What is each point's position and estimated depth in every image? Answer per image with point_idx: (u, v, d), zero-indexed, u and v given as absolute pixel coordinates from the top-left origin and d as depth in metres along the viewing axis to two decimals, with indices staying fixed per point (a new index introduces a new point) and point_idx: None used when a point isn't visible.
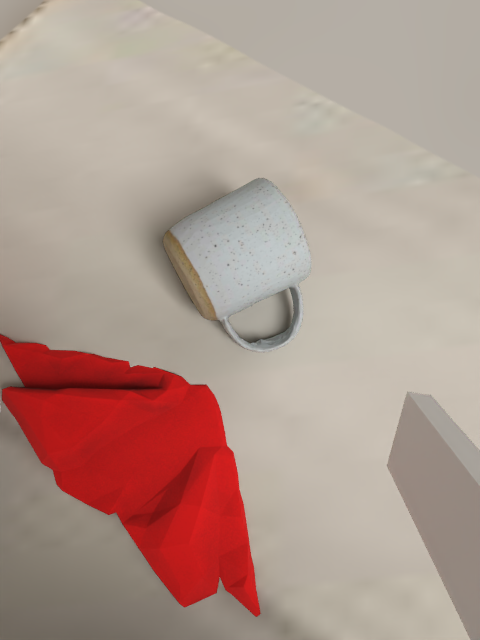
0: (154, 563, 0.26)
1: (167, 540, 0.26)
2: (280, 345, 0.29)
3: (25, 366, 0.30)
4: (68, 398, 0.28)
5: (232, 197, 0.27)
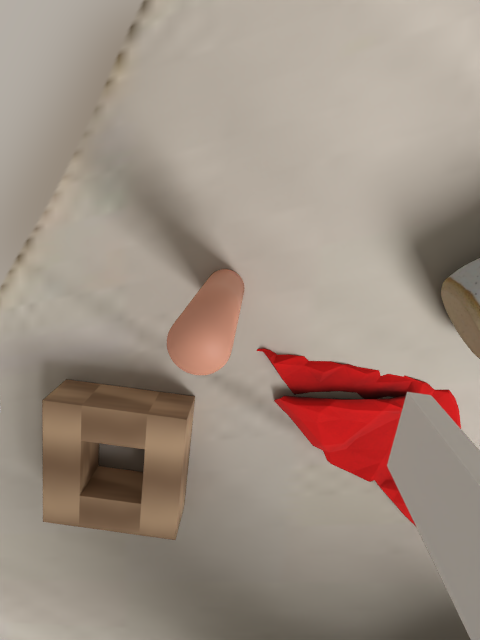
0: (404, 510, 0.36)
1: None
2: None
3: (290, 376, 0.34)
4: (338, 409, 0.33)
5: None
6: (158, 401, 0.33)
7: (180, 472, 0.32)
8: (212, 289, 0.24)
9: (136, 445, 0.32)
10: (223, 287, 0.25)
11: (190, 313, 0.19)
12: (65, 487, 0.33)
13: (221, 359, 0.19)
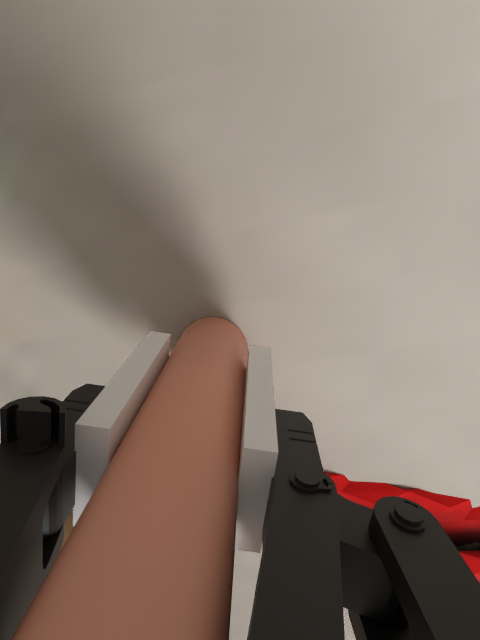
0: None
1: None
2: None
3: None
4: None
5: None
6: None
7: None
8: (173, 417, 0.09)
9: None
10: (203, 398, 0.11)
11: None
12: None
13: None
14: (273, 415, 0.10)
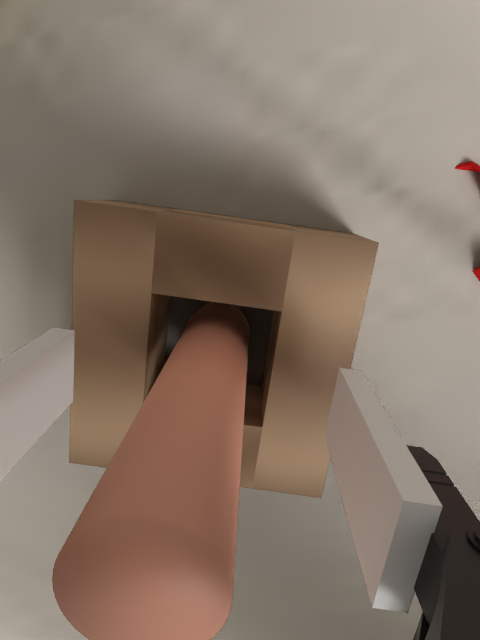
0: None
1: None
2: None
3: None
4: None
5: None
6: (298, 228, 0.17)
7: (349, 361, 0.16)
8: (191, 372, 0.12)
9: (265, 303, 0.16)
10: (214, 360, 0.13)
11: (115, 514, 0.07)
12: (115, 393, 0.17)
13: (203, 626, 0.07)
14: (410, 456, 0.09)
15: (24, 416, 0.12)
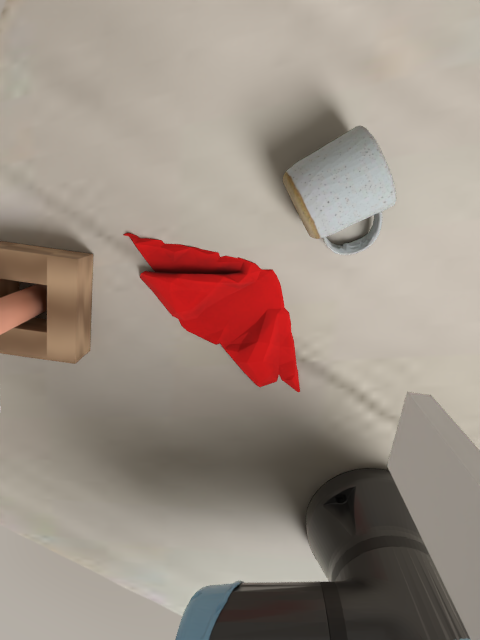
0: (243, 368, 0.47)
1: (250, 359, 0.46)
2: (360, 250, 0.42)
3: (150, 256, 0.44)
4: (184, 281, 0.43)
5: (343, 155, 0.34)
6: (60, 252, 0.43)
7: (75, 304, 0.42)
8: None
9: (40, 281, 0.41)
10: (6, 299, 0.38)
11: None
12: None
13: None
14: None
15: None
